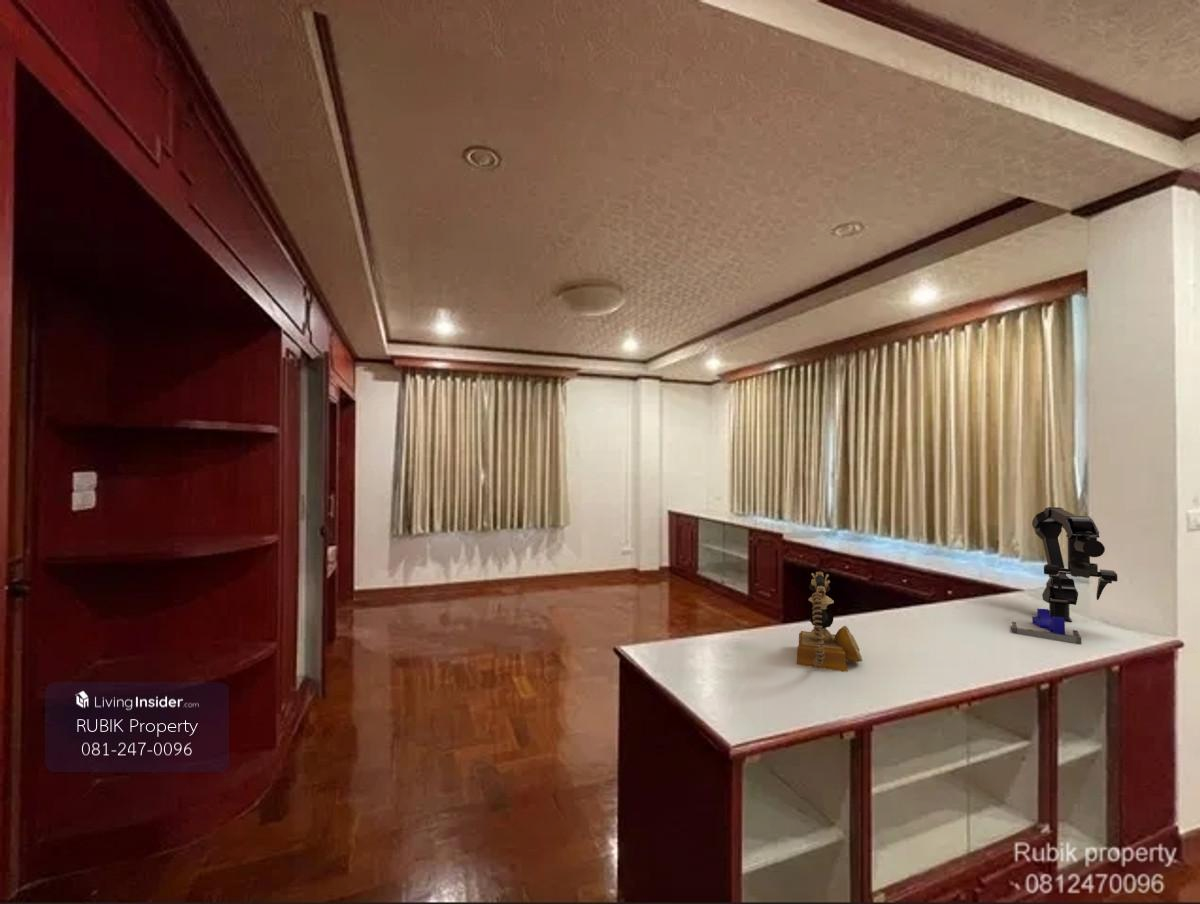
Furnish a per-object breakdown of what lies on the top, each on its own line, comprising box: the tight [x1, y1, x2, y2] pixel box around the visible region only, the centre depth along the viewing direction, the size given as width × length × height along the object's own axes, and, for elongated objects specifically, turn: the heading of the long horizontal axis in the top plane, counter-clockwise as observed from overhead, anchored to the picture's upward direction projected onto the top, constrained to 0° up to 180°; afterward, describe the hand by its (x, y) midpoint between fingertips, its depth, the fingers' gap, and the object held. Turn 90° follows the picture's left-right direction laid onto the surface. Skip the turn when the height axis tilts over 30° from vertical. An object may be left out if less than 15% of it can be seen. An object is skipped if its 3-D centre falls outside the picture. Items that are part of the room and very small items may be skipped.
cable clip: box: [1031, 608, 1066, 635], centre depth 186 cm, size 12×4×6 cm, turn 162°
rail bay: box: [1011, 621, 1082, 645], centre depth 180 cm, size 9×17×2 cm, turn 54°
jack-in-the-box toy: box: [796, 571, 863, 672], centre depth 152 cm, size 35×18×25 cm, turn 159°
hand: (1079, 597), depth 184 cm, fingers open, 9 cm apart
